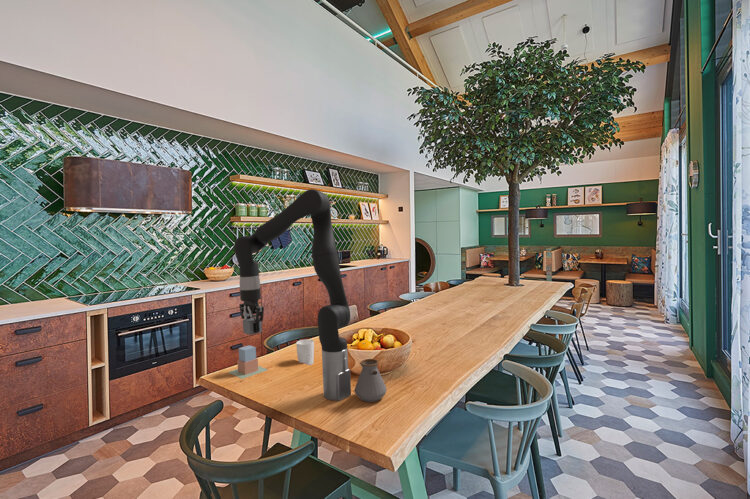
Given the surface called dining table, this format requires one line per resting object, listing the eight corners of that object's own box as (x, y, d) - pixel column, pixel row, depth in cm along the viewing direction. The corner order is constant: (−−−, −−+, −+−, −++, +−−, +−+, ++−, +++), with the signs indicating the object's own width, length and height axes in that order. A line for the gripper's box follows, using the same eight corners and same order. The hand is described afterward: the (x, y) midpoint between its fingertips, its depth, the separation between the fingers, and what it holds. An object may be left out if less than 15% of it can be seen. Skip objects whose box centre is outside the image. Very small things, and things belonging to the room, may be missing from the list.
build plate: (268, 373, 157) (268, 369, 157) (242, 382, 148) (242, 378, 148) (253, 367, 165) (253, 363, 165) (227, 375, 156) (227, 372, 155)
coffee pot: (353, 392, 136) (351, 352, 135) (383, 388, 137) (382, 349, 137) (359, 421, 115) (358, 374, 114) (395, 417, 116) (394, 370, 116)
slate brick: (262, 332, 142) (261, 319, 142) (250, 335, 138) (249, 321, 138) (255, 330, 146) (254, 317, 145) (243, 333, 142) (242, 320, 142)
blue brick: (256, 358, 156) (255, 347, 156) (245, 362, 152) (244, 350, 152) (249, 356, 159) (249, 345, 159) (239, 359, 156) (238, 348, 155)
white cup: (293, 365, 165) (292, 343, 165) (304, 359, 172) (303, 338, 172) (307, 367, 162) (306, 345, 161) (318, 361, 169) (317, 340, 168)
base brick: (258, 370, 156) (257, 358, 156) (245, 374, 152) (244, 362, 152) (250, 367, 160) (250, 356, 160) (237, 371, 156) (237, 359, 156)
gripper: (269, 287, 139) (271, 331, 140) (249, 285, 149) (251, 326, 150) (251, 290, 134) (253, 336, 134) (231, 287, 143) (234, 331, 144)
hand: (252, 331), depth 142 cm, fingers closed on slate brick, 5 cm apart
